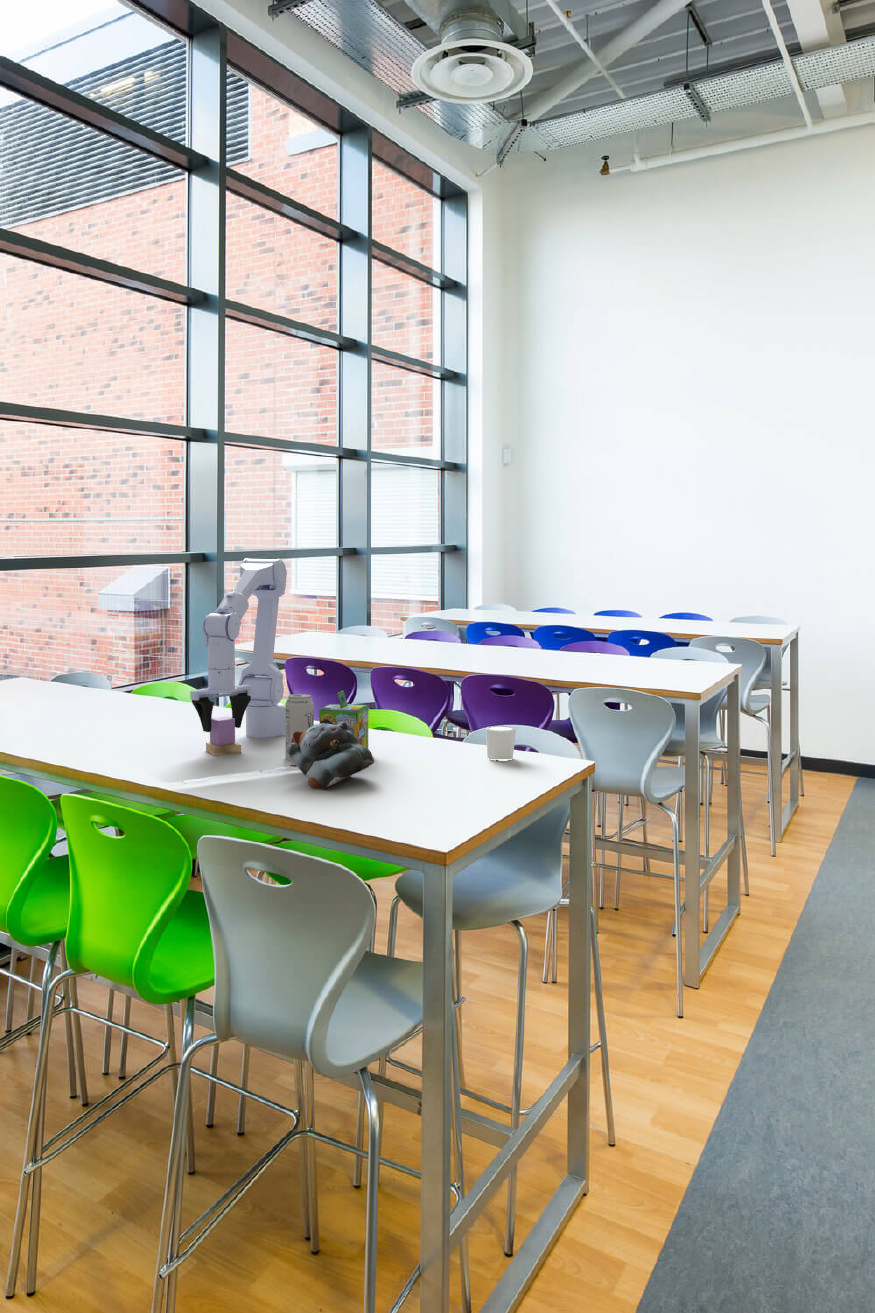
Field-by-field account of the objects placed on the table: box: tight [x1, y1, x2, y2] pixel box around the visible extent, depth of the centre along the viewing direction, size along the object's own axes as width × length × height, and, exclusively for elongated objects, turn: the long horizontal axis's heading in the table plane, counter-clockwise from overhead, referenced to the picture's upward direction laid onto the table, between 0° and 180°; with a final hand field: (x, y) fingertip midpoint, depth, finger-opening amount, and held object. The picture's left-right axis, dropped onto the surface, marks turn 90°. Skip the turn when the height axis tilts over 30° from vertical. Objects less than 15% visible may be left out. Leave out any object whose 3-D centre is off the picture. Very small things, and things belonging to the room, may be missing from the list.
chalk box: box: [319, 690, 369, 749], centre depth 201 cm, size 9×9×15 cm
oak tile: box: [205, 741, 242, 757], centre depth 198 cm, size 6×6×2 cm
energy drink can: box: [284, 693, 315, 768], centre depth 192 cm, size 6×6×15 cm
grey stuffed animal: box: [286, 719, 375, 791], centre depth 178 cm, size 15×12×14 cm
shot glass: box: [485, 725, 517, 760], centre depth 202 cm, size 7×7×7 cm
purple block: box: [209, 715, 236, 746], centre depth 198 cm, size 4×4×6 cm
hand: (222, 729), depth 198 cm, fingers open, 7 cm apart
